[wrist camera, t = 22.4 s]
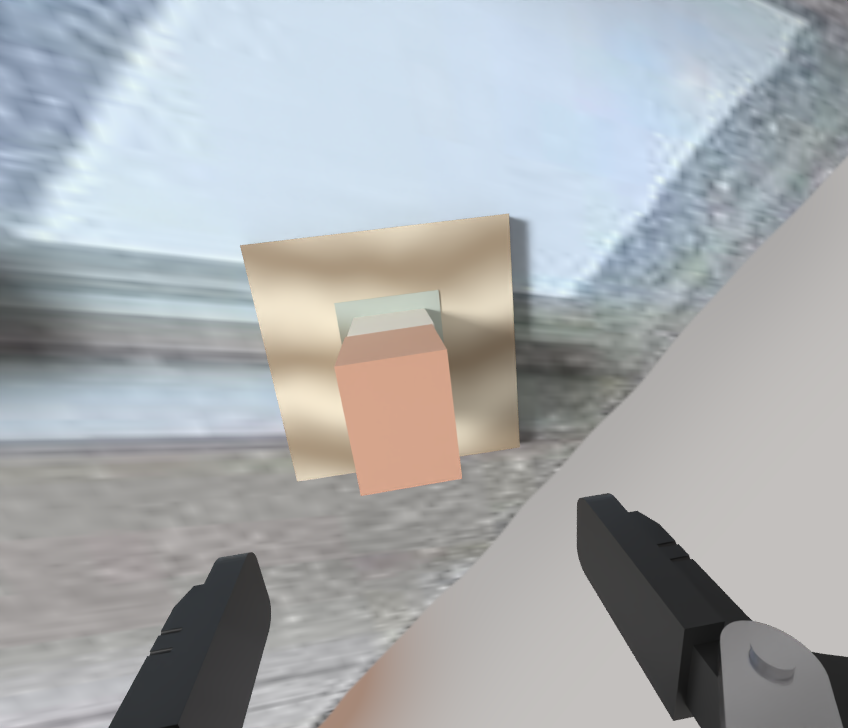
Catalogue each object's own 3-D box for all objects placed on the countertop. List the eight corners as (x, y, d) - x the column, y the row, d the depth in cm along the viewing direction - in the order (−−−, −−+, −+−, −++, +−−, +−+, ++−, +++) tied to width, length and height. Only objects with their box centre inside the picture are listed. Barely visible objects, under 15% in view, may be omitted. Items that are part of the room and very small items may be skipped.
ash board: (248, 244, 25) (239, 245, 24) (502, 214, 26) (509, 213, 25) (301, 469, 30) (297, 482, 28) (513, 437, 31) (520, 448, 29)
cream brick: (353, 317, 25) (347, 336, 21) (424, 308, 26) (434, 324, 21) (368, 405, 27) (366, 440, 23) (434, 395, 28) (446, 428, 23)
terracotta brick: (344, 337, 21) (334, 366, 16) (432, 323, 21) (447, 349, 16) (365, 441, 23) (361, 495, 18) (445, 428, 23) (462, 478, 18)
